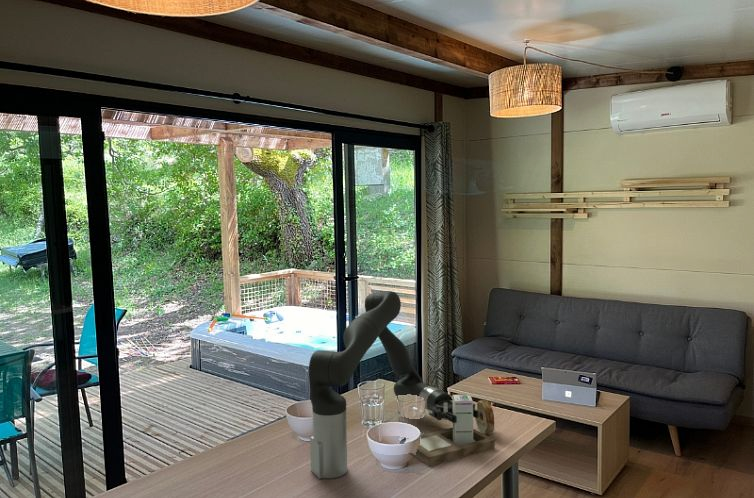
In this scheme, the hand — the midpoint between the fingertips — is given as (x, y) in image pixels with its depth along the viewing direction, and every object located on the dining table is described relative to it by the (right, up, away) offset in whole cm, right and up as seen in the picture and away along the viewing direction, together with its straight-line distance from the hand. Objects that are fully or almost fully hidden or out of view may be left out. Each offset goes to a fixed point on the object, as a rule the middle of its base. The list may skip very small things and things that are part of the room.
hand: (466, 417), depth 169 cm
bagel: (+8, -8, +12) cm, 16 cm away
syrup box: (-1, -9, +2) cm, 9 cm away
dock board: (-6, -9, 0) cm, 11 cm away
